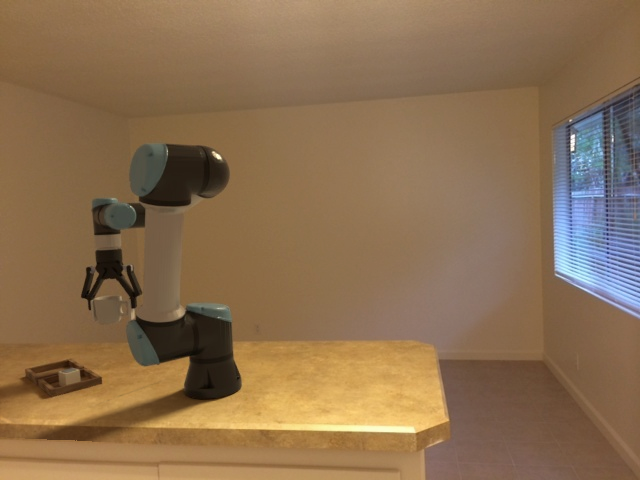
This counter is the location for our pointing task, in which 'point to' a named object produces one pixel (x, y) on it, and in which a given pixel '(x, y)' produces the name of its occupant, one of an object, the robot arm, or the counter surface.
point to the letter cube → (69, 376)
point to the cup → (109, 309)
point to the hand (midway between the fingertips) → (113, 319)
